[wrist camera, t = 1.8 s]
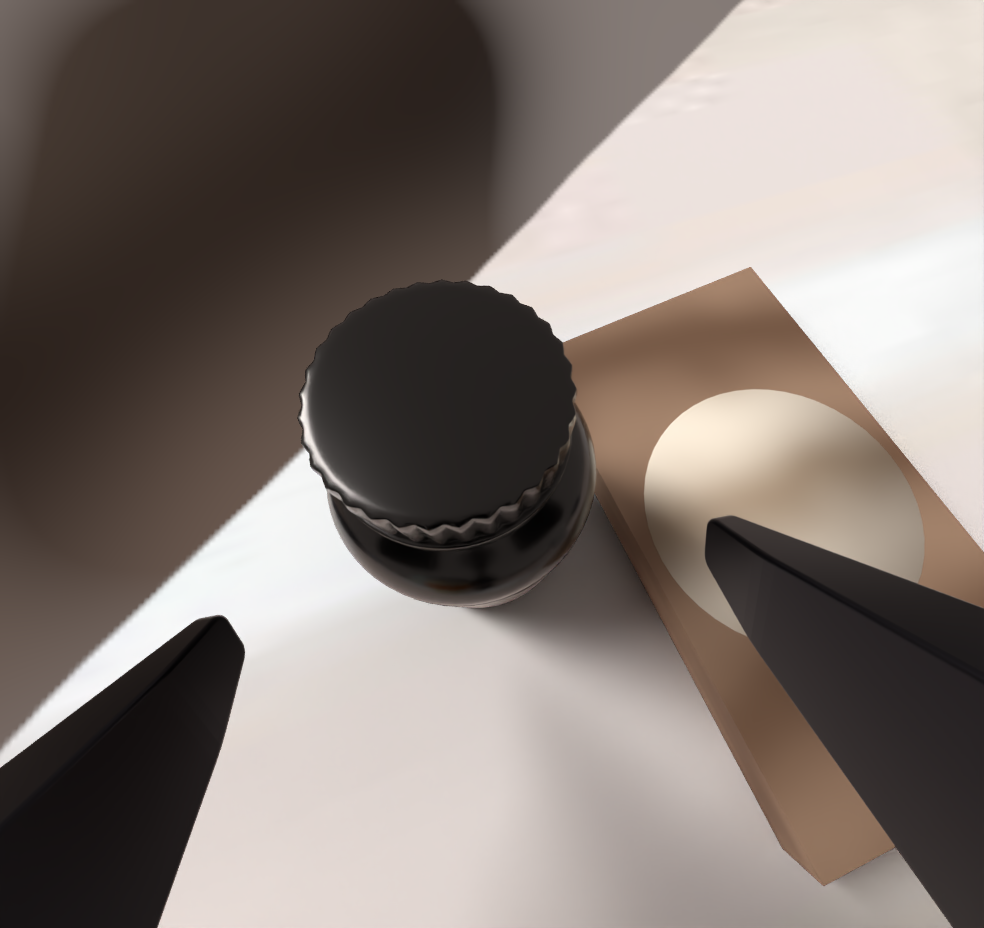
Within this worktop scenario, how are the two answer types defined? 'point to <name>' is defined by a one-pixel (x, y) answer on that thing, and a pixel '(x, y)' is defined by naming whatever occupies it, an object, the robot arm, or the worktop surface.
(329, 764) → the worktop surface
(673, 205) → the worktop surface
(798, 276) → the worktop surface
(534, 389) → the supplement bottle
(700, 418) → the walnut plinth
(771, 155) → the worktop surface
